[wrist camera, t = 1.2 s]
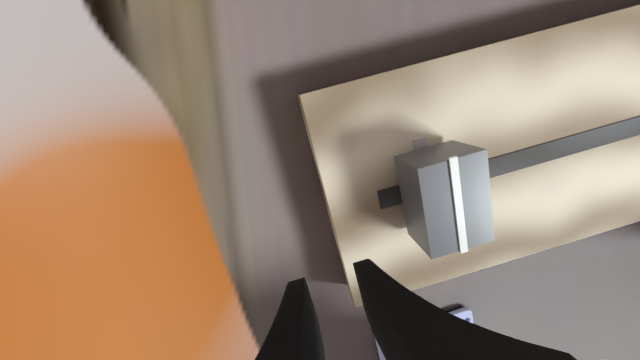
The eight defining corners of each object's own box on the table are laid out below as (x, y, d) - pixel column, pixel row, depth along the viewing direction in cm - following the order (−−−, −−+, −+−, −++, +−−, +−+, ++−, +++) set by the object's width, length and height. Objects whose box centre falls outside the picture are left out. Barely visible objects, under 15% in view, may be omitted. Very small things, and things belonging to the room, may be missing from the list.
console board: (663, 189, 24) (708, 201, 21) (347, 284, 22) (355, 308, 20) (685, -8, 19) (744, -23, 17) (296, 94, 18) (299, 94, 16)
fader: (461, 219, 19) (496, 243, 16) (408, 235, 18) (432, 261, 15) (452, 138, 17) (488, 147, 14) (393, 154, 17) (418, 167, 14)
